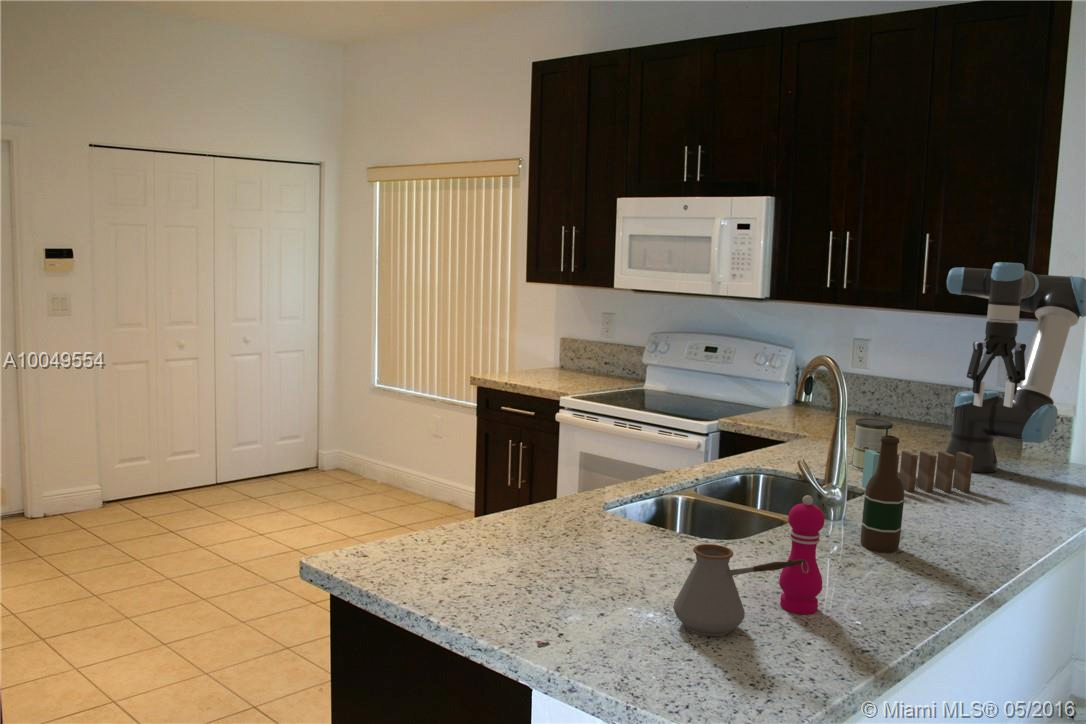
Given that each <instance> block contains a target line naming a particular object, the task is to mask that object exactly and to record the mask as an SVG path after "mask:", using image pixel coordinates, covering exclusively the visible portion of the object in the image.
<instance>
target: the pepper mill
mask: <svg viewBox="0 0 1086 724" xmlns="http://www.w3.org/2000/svg"><path fill="white" fill-rule="evenodd" d="M787 520H788V521H787V523H788V524H789V526H790V527H791V529H790V530H789V534H790V535H789V539H790V540H791V550H790V553H789V556H788V559H787V560H786V562H788V560H792V561H796V560H805V561H806V562H807V563H808V566H809V571H808V573H804V572H807V569H808V568H807V564H806V563H805V564H803V570H804V572H803V571H802V568H801V565H794V566H793V567H792V568H790V567H789V566H788V567H785V568H782V569H781V571H780V575H779V579H778V583H779V587H780V589H781V590H782V591H783V592H782V593H781V595H780V601H779V605H780V607H781V608H782V609H784V610H785V611H787V612H790V613H793V614H798V615H811V614H815V613H817V611H818V606H819V599H818V598H817V596H819V594H821V592H822V591H823V578H822V575H821V574H822V573H821V571H820V568H819V566H818V562H817V557H816V556H817V545H818V544H819V543H820V542H821V540H820V539H821V538H820V537H821V534H820V531H822V529H823V528H824V526H825V515H824V512H823V511H822V509H821V508H820V507H818V506H816V505H815V504H814V498H813V497H812V496H811V495H809V494H808V495H804V496H803V497H802V502H801V503H798V504H796V505H794V506H793V507H792V508H790V511H789V512H788V516H787Z"/></svg>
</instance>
